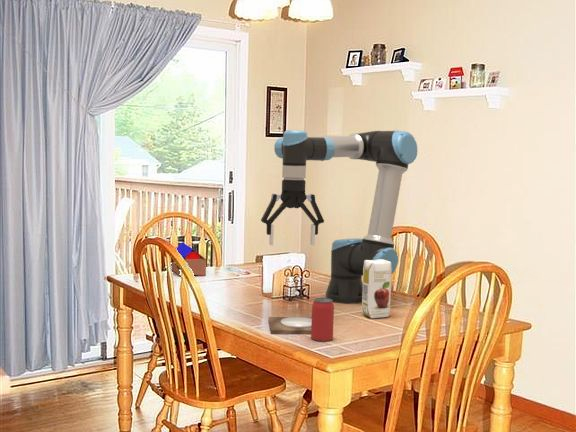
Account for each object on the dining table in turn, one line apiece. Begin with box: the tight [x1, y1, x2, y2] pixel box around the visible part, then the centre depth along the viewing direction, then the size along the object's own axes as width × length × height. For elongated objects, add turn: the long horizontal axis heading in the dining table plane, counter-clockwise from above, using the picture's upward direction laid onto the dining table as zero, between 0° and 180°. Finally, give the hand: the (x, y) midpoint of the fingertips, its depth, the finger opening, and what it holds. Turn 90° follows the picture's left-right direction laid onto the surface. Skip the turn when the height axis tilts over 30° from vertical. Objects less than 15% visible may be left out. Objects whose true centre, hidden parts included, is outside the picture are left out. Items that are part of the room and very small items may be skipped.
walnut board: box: [267, 316, 312, 335], centre depth 217 cm, size 18×16×1 cm
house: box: [171, 242, 207, 276], centre depth 305 cm, size 12×20×12 cm, turn 22°
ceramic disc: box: [281, 316, 312, 328], centre depth 217 cm, size 11×11×1 cm
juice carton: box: [361, 259, 392, 319], centre depth 233 cm, size 8×9×19 cm
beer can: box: [310, 297, 335, 342], centre depth 204 cm, size 7×7×12 cm
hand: (292, 244), depth 221 cm, fingers open, 13 cm apart
